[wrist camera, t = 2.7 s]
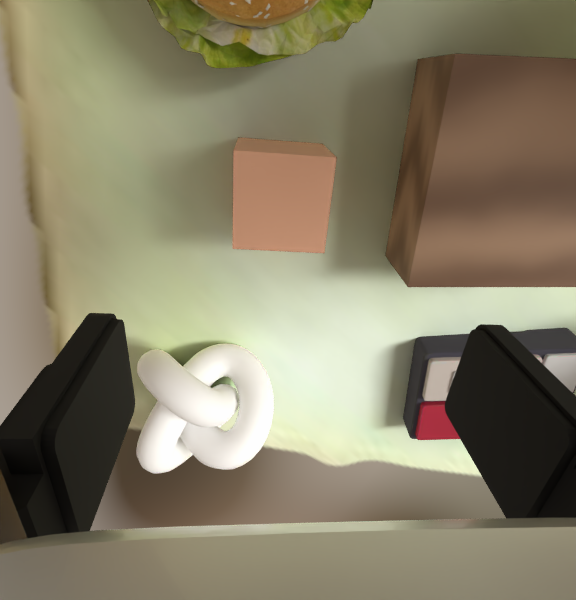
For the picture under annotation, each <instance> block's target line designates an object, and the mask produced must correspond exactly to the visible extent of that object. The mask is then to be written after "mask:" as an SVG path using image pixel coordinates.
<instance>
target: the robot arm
mask: <svg viewBox="0 0 576 600" xmlns="http://www.w3.org/2000/svg"><path fill="white" fill-rule="evenodd" d="M134 408H135V397H134V390H133V383H132V376H131V369H130V362H129V355H128V348H127V341H126V334H125V327H124V322H123V320H117V318H116V316H115V315H114V314H104V313H89V314H88V315H87V316H86V318H85V319H84V320H83V322H82V323H81V325H80V326H79V327H78V329H77V330H76V331H75V333H74V334H73V336H72V337H71V338H70V340H69V341H68V342H67V344H66V345H65V347H64V348H63V349H62V351H61V352H60V353H59V355H58V356H57V357H56V359H55V360H54V362H53V363H52V364H50V365H47V366H46V367H45V368H44V369H43V370H42V371H41V372H40V373H39V375H38V376H37V378H36V379H35V380H34V382H33V383H32V384H31V385H30V387H29V388H28V390H27V391H26V392H25V394H24V395H23V396H22V398H21V399H20V400H19V402H18V403H17V404H16V406H15V407H14V408H13V410H12V411H11V412H10V414H9V415H8V416H7V418H6V419H5V420H4V422H3V423H2V424H1V426H0V600H576V396H575V395H574V394H573V393H572V392H571V391H570V390H569V389H568V388H567V387H566V386H565V385H564V384H563V383H562V382H561V381H560V380H559V379H558V378H557V377H555V376H554V375H553V374H552V373H551V372H550V371H549V370H548V369H547V368H546V367H545V366H544V365H543V364H542V363H541V362H540V361H539V360H538V359H537V358H536V357H535V356H534V355H533V354H532V353H531V352H530V351H529V350H528V349H527V348H526V347H525V346H524V345H523V344H522V343H521V342H519V341H518V340H517V339H516V338H515V337H514V336H513V335H512V334H511V333H510V332H509V331H508V330H507V329H506V328H505V327H504V326H502V325H479V326H478V327H477V328H476V329H474V330H472V331H471V332H470V334H469V337H468V339H467V342H466V345H465V348H464V351H463V353H462V356H461V359H460V362H459V365H458V367H457V370H456V373H455V376H454V378H453V381H452V384H451V387H450V390H449V392H448V395H447V398H446V401H445V412H446V414H447V416H448V418H449V420H450V422H451V423H452V425H453V427H454V429H455V430H456V432H457V434H458V435H459V437H460V439H461V441H462V442H463V444H464V446H465V448H466V449H467V451H468V453H469V454H470V456H471V458H472V460H473V461H474V463H475V465H476V467H477V468H478V470H479V472H480V473H481V475H482V477H483V479H484V480H485V482H486V484H487V485H488V487H489V489H490V491H491V492H492V494H493V496H494V498H495V499H496V501H497V503H498V504H499V506H500V508H501V509H502V511H503V513H504V515H505V517H506V519H505V518H504V519H452V520H451V519H449V520H406V521H405V520H404V521H364V522H363V521H362V522H324V523H323V522H322V523H289V524H288V523H286V524H253V525H223V526H221V525H219V526H185V527H161V528H141V529H120V530H97V531H90V528H91V526H92V523H93V520H94V518H95V515H96V512H97V510H98V507H99V504H100V502H101V499H102V496H103V493H104V491H105V488H106V485H107V483H108V480H109V477H110V475H111V472H112V469H113V467H114V464H115V461H116V459H117V456H118V453H119V451H120V448H121V445H122V442H123V440H124V437H125V434H126V432H127V429H128V426H129V424H130V421H131V418H132V416H133V413H134Z"/></svg>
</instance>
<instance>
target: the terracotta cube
mask: <svg viewBox="0 0 576 600" xmlns="http://www.w3.org/2000/svg"><path fill="white" fill-rule="evenodd" d="M336 160H337V157H336V156H335V155H334V154H333V153H331V152H330V151H329V150H328V149H327V148H326V147H325V146H324V145H323V144H319V143H306V142H292V141H279V140H266V139H252V138H239V137H238V140H237V142H236V145H235V148H234V150H233V249H249V250H270V251H290V252H311V253H324V252H325V244H326V236H327V229H328V221H329V213H330V206H331V198H332V191H333V183H334V175H335V168H336Z"/></svg>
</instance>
